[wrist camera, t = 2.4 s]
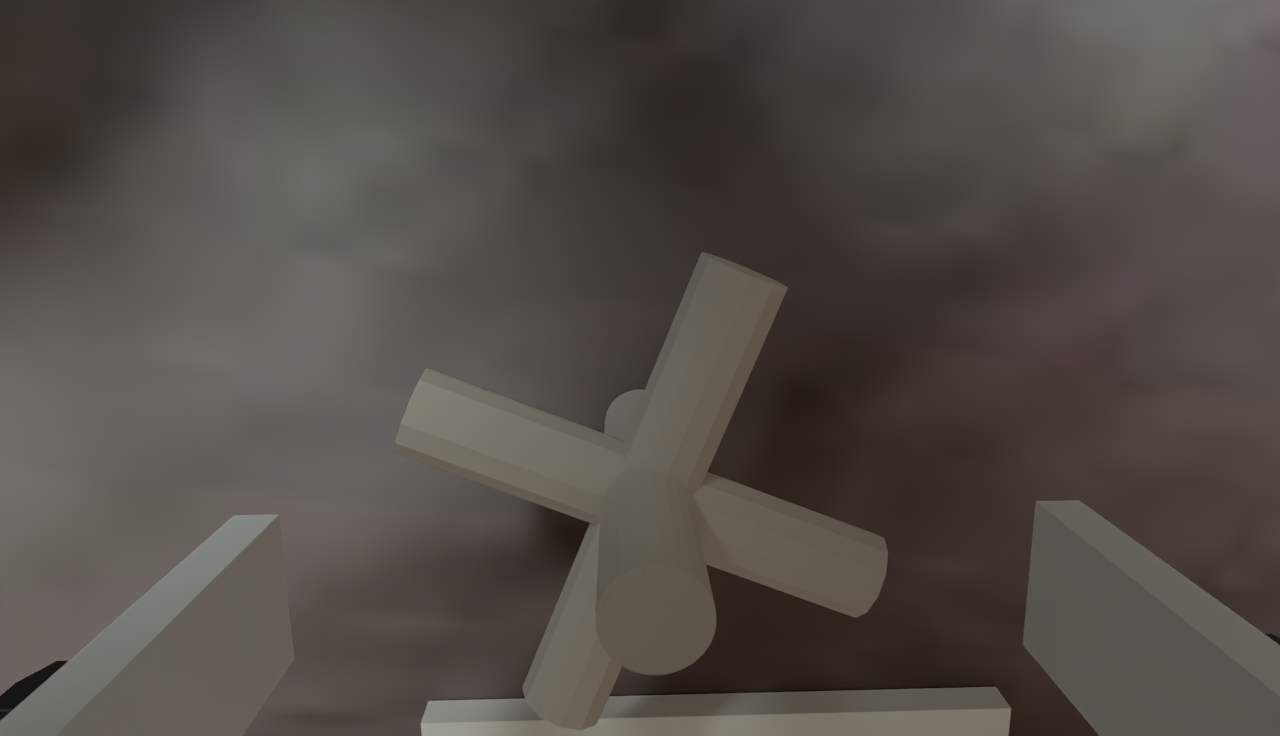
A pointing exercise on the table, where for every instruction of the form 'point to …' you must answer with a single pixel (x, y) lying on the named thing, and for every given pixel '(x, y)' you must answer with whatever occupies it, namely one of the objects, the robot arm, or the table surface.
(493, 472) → the pipe connector
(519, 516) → the table surface
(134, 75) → the table surface
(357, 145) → the table surface
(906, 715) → the duct panel
